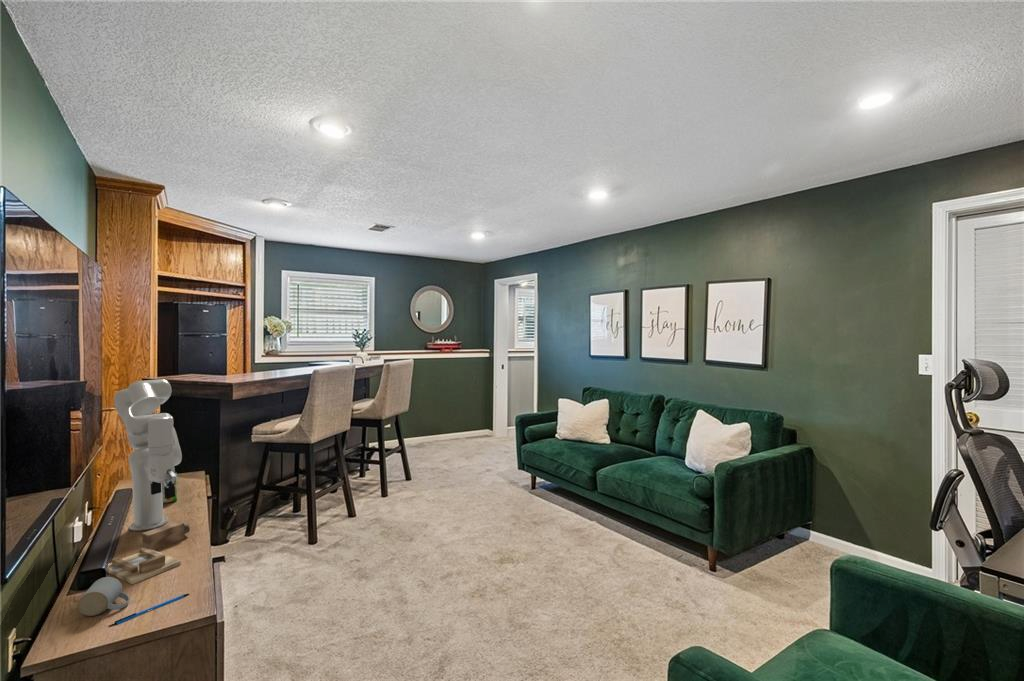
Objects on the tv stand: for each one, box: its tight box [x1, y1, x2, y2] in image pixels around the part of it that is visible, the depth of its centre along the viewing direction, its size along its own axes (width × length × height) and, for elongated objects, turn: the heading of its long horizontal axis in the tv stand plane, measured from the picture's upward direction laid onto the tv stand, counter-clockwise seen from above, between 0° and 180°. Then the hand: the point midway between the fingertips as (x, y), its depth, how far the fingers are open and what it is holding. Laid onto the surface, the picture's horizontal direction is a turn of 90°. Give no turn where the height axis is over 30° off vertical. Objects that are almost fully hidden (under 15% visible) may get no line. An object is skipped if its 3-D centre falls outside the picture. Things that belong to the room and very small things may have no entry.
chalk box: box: [162, 472, 179, 504], centre depth 223 cm, size 9×9×15 cm
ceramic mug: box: [77, 576, 131, 617], centre depth 137 cm, size 11×8×8 cm
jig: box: [107, 547, 182, 585], centre depth 160 cm, size 20×14×4 cm
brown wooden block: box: [141, 520, 191, 551], centre depth 179 cm, size 14×4×6 cm, turn 151°
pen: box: [108, 593, 190, 628], centre depth 136 cm, size 1×19×1 cm, turn 144°
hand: (163, 495), depth 177 cm, fingers open, 9 cm apart
